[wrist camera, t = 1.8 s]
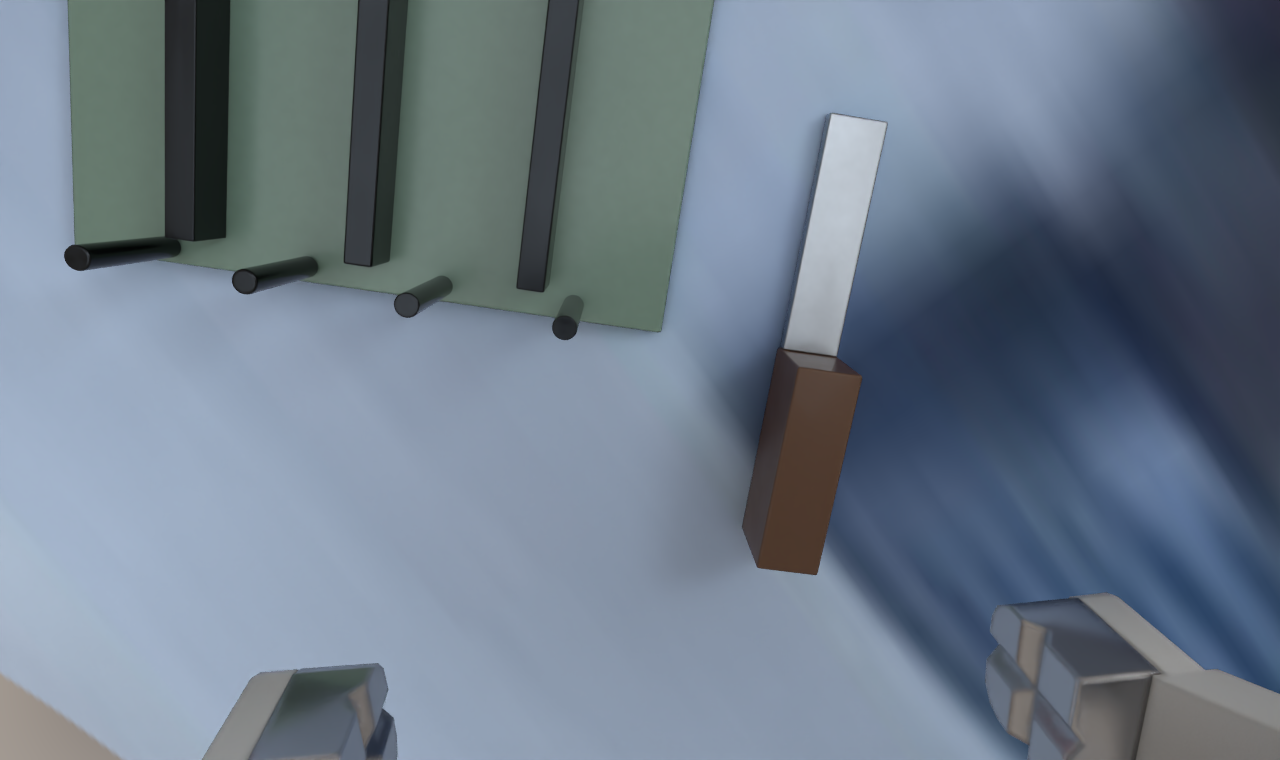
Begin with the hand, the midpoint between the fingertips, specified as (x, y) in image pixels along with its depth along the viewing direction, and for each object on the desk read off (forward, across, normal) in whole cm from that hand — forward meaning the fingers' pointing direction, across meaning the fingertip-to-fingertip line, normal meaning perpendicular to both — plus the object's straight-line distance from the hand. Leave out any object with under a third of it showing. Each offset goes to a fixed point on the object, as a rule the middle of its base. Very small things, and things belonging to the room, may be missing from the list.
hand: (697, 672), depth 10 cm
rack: (+22, -7, +9) cm, 25 cm away
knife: (+20, +8, -2) cm, 22 cm away
